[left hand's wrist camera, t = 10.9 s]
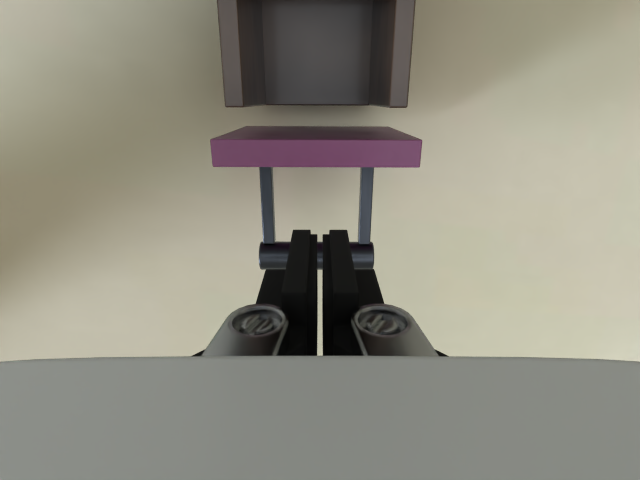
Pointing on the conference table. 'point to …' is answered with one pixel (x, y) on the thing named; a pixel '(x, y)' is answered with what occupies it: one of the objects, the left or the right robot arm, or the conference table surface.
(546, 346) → the conference table surface
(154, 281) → the conference table surface
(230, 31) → the drawer
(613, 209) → the conference table surface
